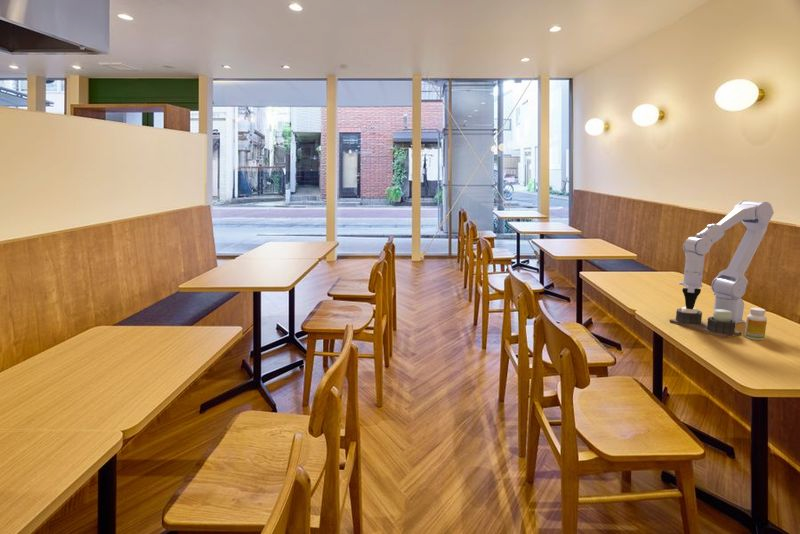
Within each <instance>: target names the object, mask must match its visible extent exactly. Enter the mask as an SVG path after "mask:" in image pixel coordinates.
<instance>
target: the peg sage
mask: <svg viewBox="0 0 800 534" xmlns="http://www.w3.org/2000/svg"><path fill="white" fill-rule="evenodd" d="M713 313H714V316H713V315H712V317H713V320H715V321H719V322H731V315H732V312H731V311H728V310H723V309H715V310H714V309H713Z"/></svg>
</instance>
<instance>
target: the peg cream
mask: <svg viewBox="0 0 800 534" xmlns="http://www.w3.org/2000/svg"><path fill="white" fill-rule="evenodd" d="M681 308H682V310H681V311H682V312H686V313H697V312H698V310H699V309H698V308H697V307H694V308H693V309H686V306H682V307H681Z"/></svg>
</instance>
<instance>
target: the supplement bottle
mask: <svg viewBox="0 0 800 534" xmlns="http://www.w3.org/2000/svg"><path fill="white" fill-rule="evenodd" d="M765 315H766V309H764V308H759V307H750V309H749V314H747V315H746V319H745V322H746V323H745V329H744V337H745V338H747V339H749V340H753V341H763V340H765V336H766V330H767V329H766V328H767V321H768V318H767V317H766V316H765Z"/></svg>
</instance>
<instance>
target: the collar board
mask: <svg viewBox="0 0 800 534" xmlns="http://www.w3.org/2000/svg"><path fill="white" fill-rule="evenodd" d="M681 310H682V307H680V308H677V309H676V312H675V313H676V314H675V318H672V319H669V323H672V324H676V325H679V326H681V327H685V326H686V328H689V327H690V328H689V329H692V328H693V329H692V330H695V329H696V330H695V331H698V332H702V333H705V334H708V335H709V334H710V335H713V336H715V337H719V338H723V339H724V338H729V336H730V337H735V336H740V335H742V331H739V330H736V325H737V323H736V321H735V320H733V319H731V322H719V321H715V320H713V316H708V317H709V318H708V317H707V318H708V319H707V321H702V318H703V311H701V310H699V309H698V312H697V313H686V312H682V311H681Z"/></svg>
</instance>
